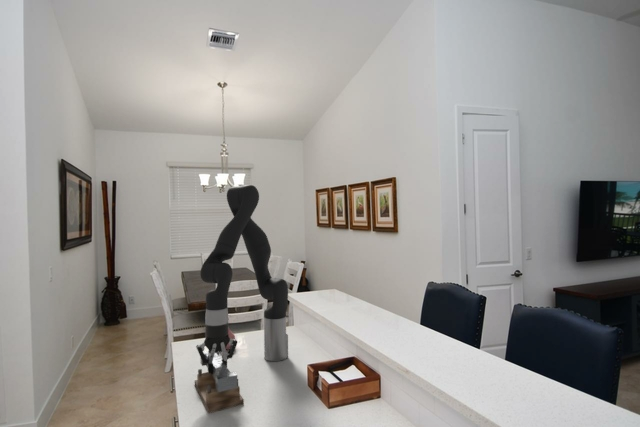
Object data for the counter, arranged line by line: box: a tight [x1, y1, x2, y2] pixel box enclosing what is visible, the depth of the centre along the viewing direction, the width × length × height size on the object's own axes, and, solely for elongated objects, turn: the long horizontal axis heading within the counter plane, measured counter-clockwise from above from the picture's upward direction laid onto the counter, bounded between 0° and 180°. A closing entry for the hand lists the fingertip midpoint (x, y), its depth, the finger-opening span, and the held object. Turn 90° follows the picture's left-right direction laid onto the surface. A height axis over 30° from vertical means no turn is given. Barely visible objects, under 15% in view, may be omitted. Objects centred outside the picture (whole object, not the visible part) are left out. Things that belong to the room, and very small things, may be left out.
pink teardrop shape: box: [225, 326, 236, 350], centre depth 170 cm, size 8×8×12 cm
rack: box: [194, 368, 245, 414], centre depth 127 cm, size 11×22×6 cm, turn 29°
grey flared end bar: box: [200, 350, 238, 392], centre depth 127 cm, size 6×26×4 cm, turn 29°
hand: (217, 372), depth 127 cm, fingers closed on grey flared end bar, 3 cm apart
